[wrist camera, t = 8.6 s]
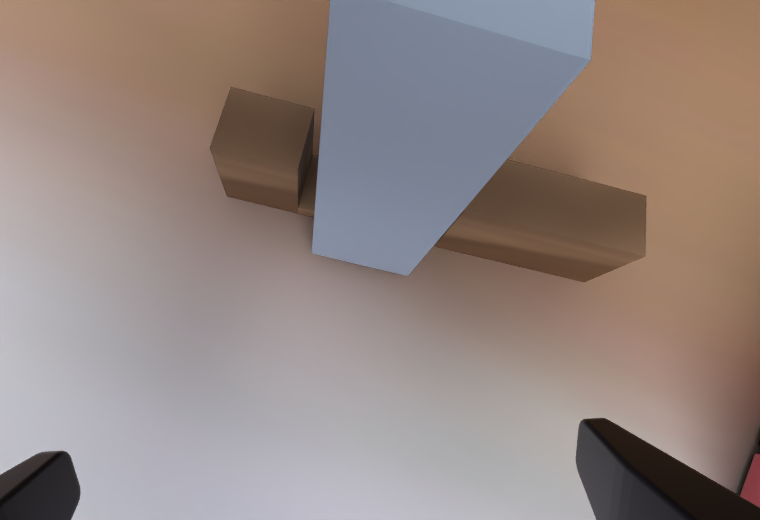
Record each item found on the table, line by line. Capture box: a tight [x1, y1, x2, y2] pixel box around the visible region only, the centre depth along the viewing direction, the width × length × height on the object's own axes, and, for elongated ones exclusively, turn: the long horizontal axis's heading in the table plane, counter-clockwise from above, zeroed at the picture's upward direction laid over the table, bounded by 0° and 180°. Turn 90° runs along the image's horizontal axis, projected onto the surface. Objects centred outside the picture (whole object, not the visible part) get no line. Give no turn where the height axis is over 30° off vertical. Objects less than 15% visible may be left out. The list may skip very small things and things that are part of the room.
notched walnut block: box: [210, 87, 646, 282], centre depth 19 cm, size 2×16×4 cm, turn 79°
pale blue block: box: [312, 0, 595, 276], centre depth 14 cm, size 6×4×13 cm, turn 169°
